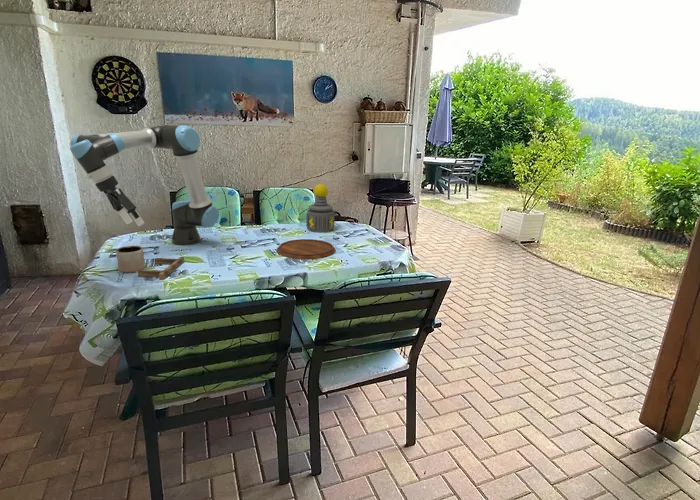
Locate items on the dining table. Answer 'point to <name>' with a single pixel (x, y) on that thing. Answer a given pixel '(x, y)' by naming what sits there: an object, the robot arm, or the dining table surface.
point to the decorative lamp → (320, 212)
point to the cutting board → (306, 249)
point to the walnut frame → (162, 274)
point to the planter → (130, 259)
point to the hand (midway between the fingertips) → (135, 223)
